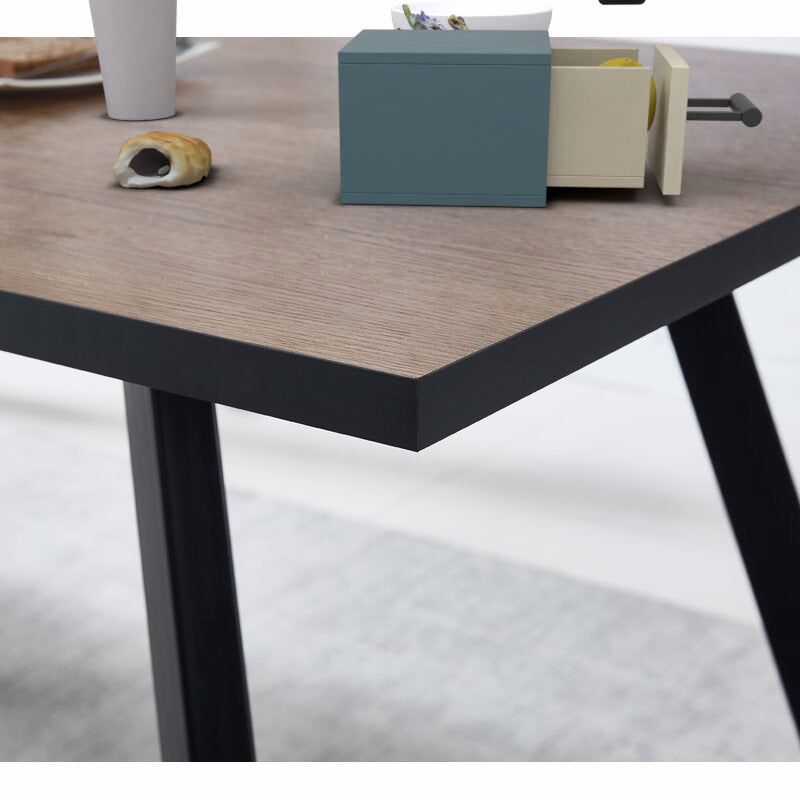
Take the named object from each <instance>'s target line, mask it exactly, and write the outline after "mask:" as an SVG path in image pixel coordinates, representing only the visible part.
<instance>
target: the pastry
mask: <svg viewBox="0 0 800 800" xmlns="http://www.w3.org/2000/svg"><path fill="white" fill-rule="evenodd" d="M212 163H213V158H212V150H211V148H210V147H209V145H208V143H207V142H205V141H204V140H202V139H201V138H198V137H193V136H191V135H188V134H186V133H183V132H177V131H175V132H173V131H170V132H169V131H159V130H150V131H148V132H146V133H143V134H139V135H136V136H135V137H132V138H128V139H127V140H126V141H125V142H124V143H123V144H122V146H121V148H120V149H119V153H118V157H117V161H116V162H115V164H114V165H113V167H112V168H111V170H112V174H113V177H114V178H115V179H116V180H117V181H118V182H119V184H120V186H122V187H123V188H127V189H129V188H133V189H134V188H138V189H145V188H150V187H155V186H160V187H167V188H172V187H180V186H190V185H193V184H195V183H197V182H201V180H202V178H203V177H204V176H205V178H207V177H208V176H209V174H210V170H211V166H212Z"/></svg>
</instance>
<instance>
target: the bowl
mask: <svg viewBox="0 0 800 800" xmlns="http://www.w3.org/2000/svg"><path fill="white" fill-rule="evenodd" d="M403 4H404V3H402V4H397V5H393V6H391V7H390V15H391V16H390V17H391V22H392V26H393V29H398V28H399V27H400V28H401V29H403V30H413V29H412V27H411V26H410V24H409V22H408V20H407V18H406V16H405V14H404V11H403V7H402V5H403ZM406 4H407V5H408V6H409V9H410V12H411V13H414V14H415V15H416V14H417V13H418V14H419V15H420V14H421V11H424V14H425V15H426V17H427V16H429V17H430V19H431V20H432V19H434V18H436V22H437V24H441V25H443V27H444V28H446V29H447V30H454V29H453V28H452V27H451V26H450V24H449V23H448V18H450V16H451V15H452V14H454V15H455V16H456V19H457V17H458V16H461V17H462V18H463V19H464V22H465V24H466V26H467V28H468V29H469V30H548V31H549V28H550V25H551V23H552V18H553V17H552V16H553V8H552V6H549V5H545V4H540V3H534V2H533V3H532V2H522V1H504V0H436V1H418V2H409V3H406Z"/></svg>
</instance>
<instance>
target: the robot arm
mask: <svg viewBox="0 0 800 800" xmlns="http://www.w3.org/2000/svg"><path fill="white" fill-rule="evenodd" d="M597 1H598V3H599V4H600V5H602V6H640V5H641V6H642V5H643V4H645V2H646V1H647V0H597Z"/></svg>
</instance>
